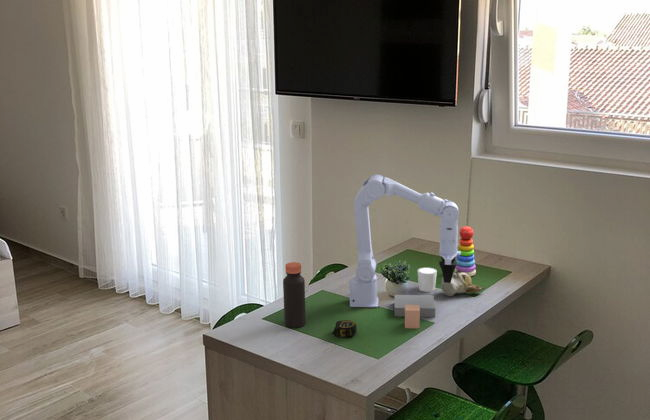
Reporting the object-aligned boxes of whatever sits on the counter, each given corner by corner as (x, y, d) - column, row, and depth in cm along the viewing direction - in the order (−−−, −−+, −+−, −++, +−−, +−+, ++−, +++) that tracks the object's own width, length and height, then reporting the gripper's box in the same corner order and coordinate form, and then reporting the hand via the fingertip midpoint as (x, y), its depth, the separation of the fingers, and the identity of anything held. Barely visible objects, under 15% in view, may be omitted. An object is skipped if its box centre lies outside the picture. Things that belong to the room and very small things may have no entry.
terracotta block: (404, 328, 216) (405, 310, 215) (404, 322, 221) (404, 304, 219) (419, 328, 216) (419, 310, 214) (419, 322, 220) (419, 304, 219)
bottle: (280, 324, 221) (277, 264, 216) (296, 317, 226) (294, 259, 220) (294, 330, 216) (292, 270, 211) (310, 323, 221) (308, 264, 216)
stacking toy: (450, 271, 264) (451, 224, 259) (469, 269, 266) (471, 222, 261) (460, 278, 257) (462, 230, 252) (479, 275, 259) (481, 227, 254)
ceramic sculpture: (433, 267, 243) (468, 263, 249) (431, 291, 245) (466, 286, 251) (451, 277, 234) (487, 272, 240) (449, 301, 236) (484, 296, 242)
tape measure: (336, 329, 217) (336, 318, 216) (358, 330, 216) (357, 319, 215) (332, 339, 210) (332, 327, 209) (355, 340, 209) (355, 328, 208)
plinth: (394, 316, 225) (394, 307, 224) (394, 303, 236) (394, 294, 235) (434, 317, 224) (435, 308, 223) (433, 303, 234) (433, 295, 234)
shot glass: (436, 293, 244) (436, 274, 242) (416, 291, 245) (416, 273, 243) (437, 285, 250) (437, 267, 248) (417, 284, 251) (418, 266, 250)
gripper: (461, 246, 218) (459, 286, 222) (461, 232, 232) (459, 271, 236) (438, 245, 220) (437, 285, 223) (439, 232, 233) (438, 270, 237)
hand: (447, 278), depth 230 cm, fingers open, 7 cm apart
